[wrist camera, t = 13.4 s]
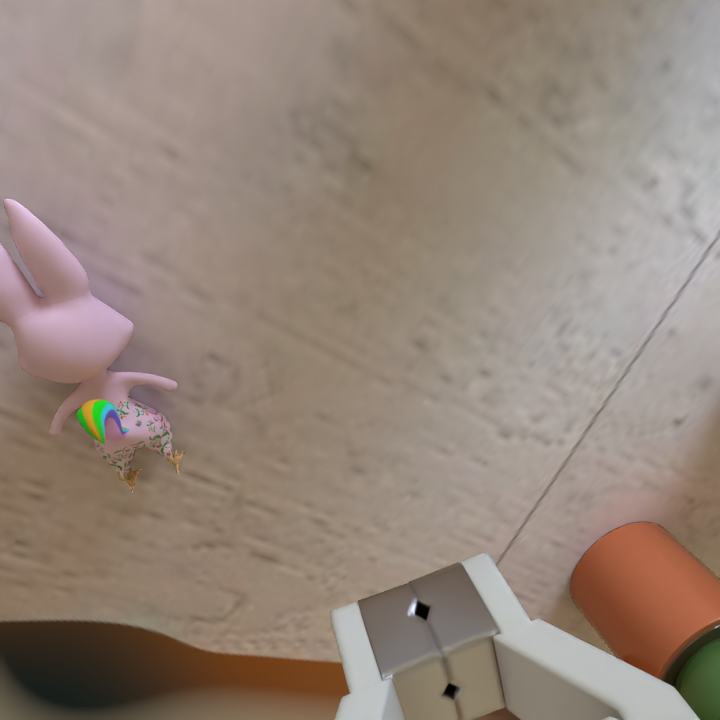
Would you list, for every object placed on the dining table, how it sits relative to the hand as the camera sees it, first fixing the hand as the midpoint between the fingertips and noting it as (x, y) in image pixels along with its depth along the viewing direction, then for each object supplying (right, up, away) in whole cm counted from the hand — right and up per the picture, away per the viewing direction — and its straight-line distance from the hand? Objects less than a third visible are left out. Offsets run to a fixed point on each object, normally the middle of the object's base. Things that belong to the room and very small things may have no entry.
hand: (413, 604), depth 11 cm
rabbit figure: (-14, +5, +19) cm, 24 cm away
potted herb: (+19, -12, +36) cm, 42 cm away
